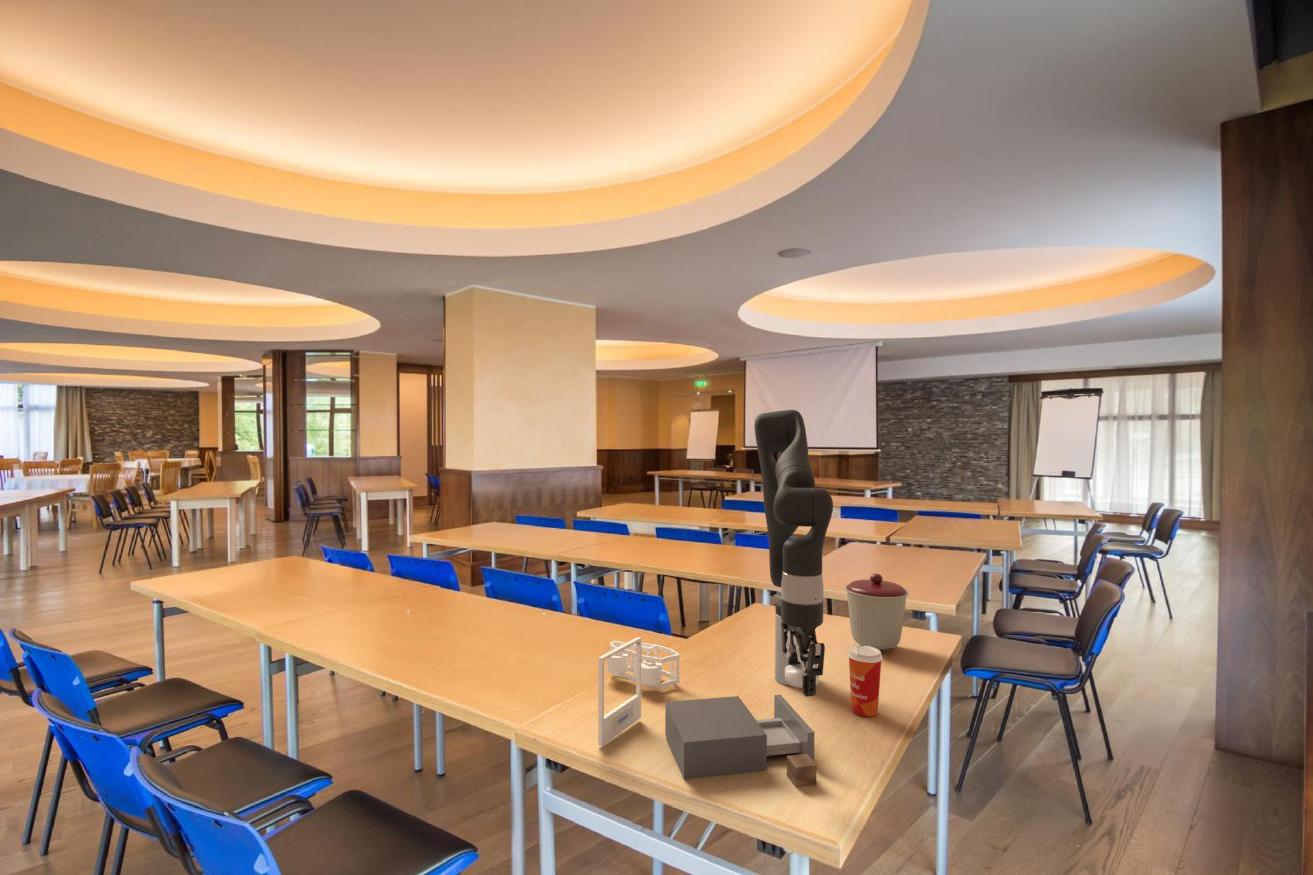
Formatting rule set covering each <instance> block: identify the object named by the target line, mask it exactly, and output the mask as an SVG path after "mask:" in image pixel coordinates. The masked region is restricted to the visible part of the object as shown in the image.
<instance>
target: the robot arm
mask: <svg viewBox="0 0 1313 875" xmlns="http://www.w3.org/2000/svg"><path fill="white" fill-rule="evenodd" d="M754 436H755V441H756V442H755V443H756V447H757V453H758V454H757V455H758V458H759V464H760V465H759V466H760V473H761V478H762V479H761V482H762V492H763V495H762V496H763V507H764V515H765V521H766V529H767V535H768V536H767V537H768V552H769V553H768V554H769V555H768V556H769V576H770V577H769V578H770V580H771V583H772V584H773V586H774V587H777V588H780V592H781V594H780V599H779V600H778V601H777V602H776V603H775V617H774V618H775V620H774V621H775V622H774V623H775V627H774V628H775V630H774V632H775V633H774V634H775V636H774V639H775V641H774V642H775V644H774V645H775V647H774V649H775V650H774V655H775V656H774V679H775V681H776V682H777V683H779V684H781V685H783V686H786V687H787V686H788V687H792V686H791V685H789V684H788V683H786V681H785V667H786V666H788V665H791V664H801V665H802V671H803V688H802V694H803V696H805V697H813V696H816V695H817V694H816V693H817V692H816V691H817V686H816V676H819V677H820V676H823V675H824V664H825V662H824V661H825V654H826V650H825V649H826V647H825V643H824V642H818V640H817V633H816V629H817V628H818V627H820V626H822V624H824V582H823V581H824V580H823V548H824V544H825V540H826V539H825V538H826V535H827V532H828V528H829V526H830V523H831V522H830V521H831V519H832V514H833V511H834V501H833V498H832V496H831V494H830V493H829V491H828V490H826V489H825V488H822V487H816V480H815V476H814V474H813V471H812V468H811V465H810V459H809V448H808V447H809V446H808V439H807V433H806V425H805V421H804V418H803V416H802V414H801V413H800V411H798V410H797V409H784V410H776V411H770V412H769V411H768V412H763V413H759V414H757V415H756V417H755V419H754ZM780 452H782V453H781V455H780V456H779V458H778V459H777V461H776V459H775V457H774V454H773V453H780ZM799 527H807V528H808V527H810V529H809V530H808V532H807V533H806V534H805V535H803V536H799V537H793V538H791V537H792V535H793V534H794V533H795V532H796V531H797V530H798V528H799Z"/></svg>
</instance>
